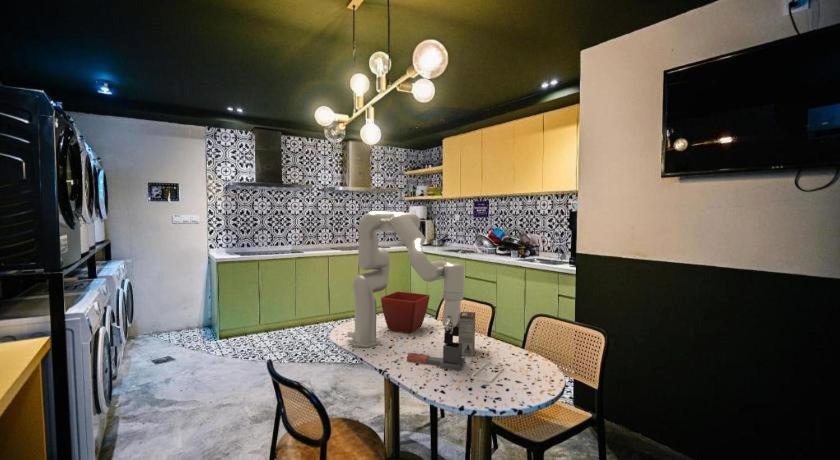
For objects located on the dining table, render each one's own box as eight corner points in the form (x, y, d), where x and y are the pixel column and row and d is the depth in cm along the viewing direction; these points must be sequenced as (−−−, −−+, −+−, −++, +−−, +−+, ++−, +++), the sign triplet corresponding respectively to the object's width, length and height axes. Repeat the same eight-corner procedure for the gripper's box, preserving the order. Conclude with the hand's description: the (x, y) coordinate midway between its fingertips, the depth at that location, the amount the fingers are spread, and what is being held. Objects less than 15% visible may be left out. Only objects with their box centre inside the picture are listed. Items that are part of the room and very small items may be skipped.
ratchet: (405, 362, 153) (405, 348, 153) (412, 356, 160) (412, 342, 160) (460, 370, 146) (460, 355, 146) (464, 363, 153) (465, 349, 153)
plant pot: (430, 326, 203) (430, 294, 203) (414, 336, 186) (415, 301, 185) (397, 322, 211) (397, 291, 211) (379, 331, 194) (379, 297, 193)
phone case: (490, 384, 135) (504, 370, 148) (490, 380, 135) (504, 366, 148) (470, 379, 139) (485, 366, 152) (470, 376, 139) (485, 362, 152)
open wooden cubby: (442, 361, 149) (443, 346, 149) (446, 356, 155) (447, 341, 154) (458, 363, 147) (458, 348, 147) (461, 358, 153) (462, 343, 152)
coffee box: (460, 347, 171) (460, 311, 171) (474, 348, 170) (475, 312, 170) (457, 354, 162) (458, 316, 162) (473, 356, 161) (474, 317, 161)
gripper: (449, 290, 159) (447, 331, 160) (437, 299, 143) (435, 345, 144) (467, 292, 157) (465, 334, 158) (457, 301, 141) (455, 348, 141)
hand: (451, 339), depth 151 cm, fingers open, 9 cm apart
